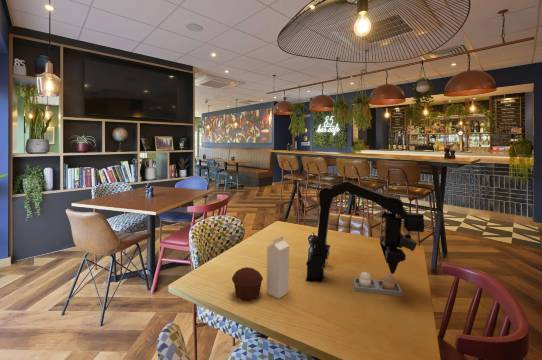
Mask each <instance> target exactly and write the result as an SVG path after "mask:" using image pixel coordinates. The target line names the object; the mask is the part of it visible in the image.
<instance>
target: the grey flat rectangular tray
mask: <svg viewBox="0 0 542 360" xmlns="http://www.w3.org/2000/svg"><path fill="white" fill-rule="evenodd" d="M352 281H353V291H354V292H361V293H369V294H378V295H379V294H380V295H388V296H395V297H403V290H402V289H401V286H400V284H399V282H398V281H395V288H394V290H386V289H382V285H383V279H382V280H380V279H372V278H371V288H368V287H359V277H353V280H352Z"/></svg>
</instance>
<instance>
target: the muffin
mask: <svg viewBox="0 0 542 360" xmlns="http://www.w3.org/2000/svg"><path fill="white" fill-rule="evenodd" d="M263 280H264V278H263V276H262V274H261V273H260V272H259V271H258V270H257V269H255V268H254V267H249V266H248V267H247V266H246V267H242V268H239V269H238V270H236V271H235V273H234V274H233V275H232V277H231V281H232V283H233V284H234V289H235V296H236V298H237V299H238V300H240V301H242V302H244V301H246V302H251V301H253V300H257V298H258V297H259V296H260V292H261V287H262V281H263Z"/></svg>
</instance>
